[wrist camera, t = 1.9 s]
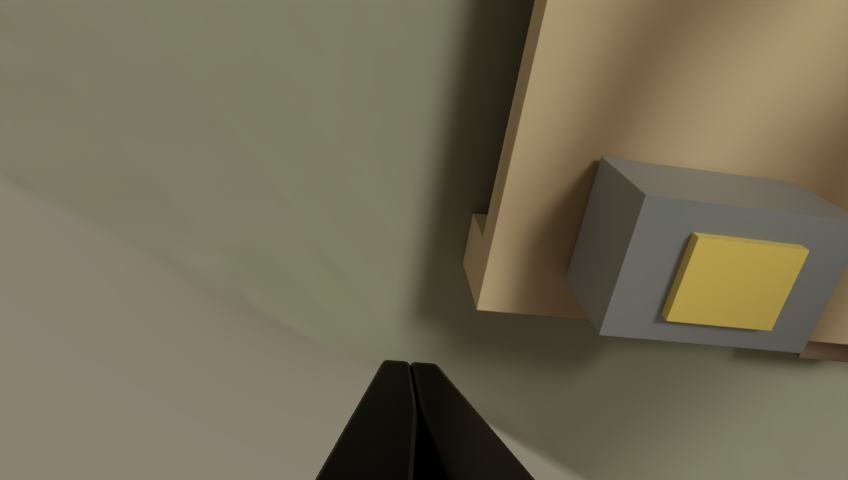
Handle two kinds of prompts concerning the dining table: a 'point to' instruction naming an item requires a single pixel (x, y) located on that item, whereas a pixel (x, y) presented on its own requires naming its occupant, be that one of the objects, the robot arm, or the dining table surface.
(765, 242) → the stud finder
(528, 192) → the wooden board
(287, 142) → the dining table surface
